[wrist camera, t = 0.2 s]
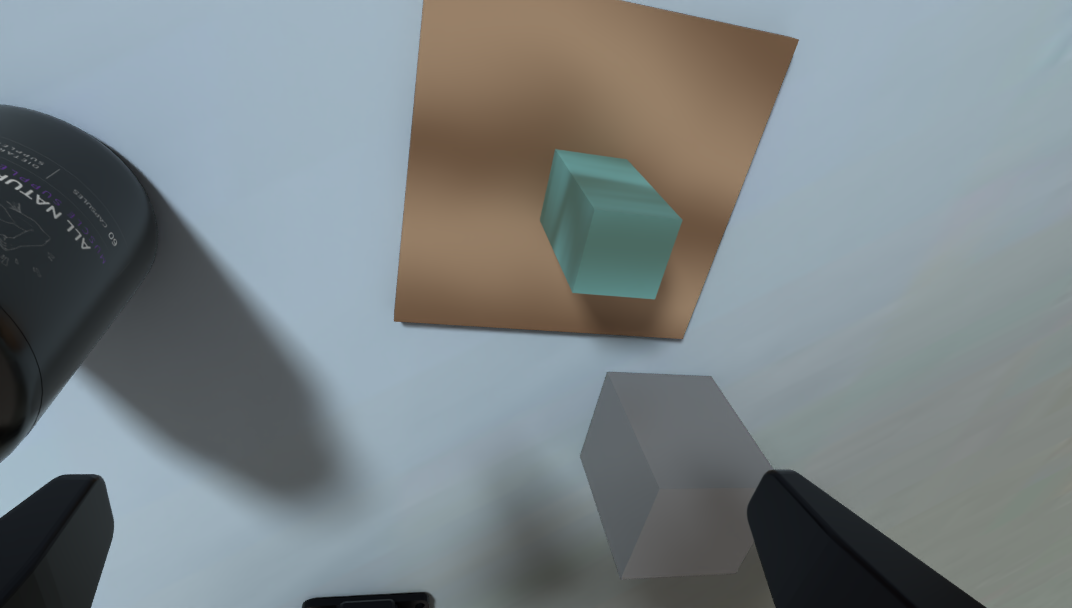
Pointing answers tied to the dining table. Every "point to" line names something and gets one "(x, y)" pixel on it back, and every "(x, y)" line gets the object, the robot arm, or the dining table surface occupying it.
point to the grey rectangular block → (671, 475)
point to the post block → (576, 162)
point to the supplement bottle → (60, 257)
